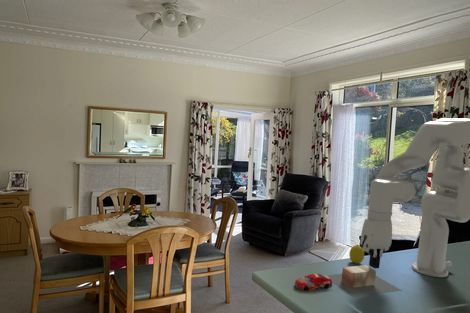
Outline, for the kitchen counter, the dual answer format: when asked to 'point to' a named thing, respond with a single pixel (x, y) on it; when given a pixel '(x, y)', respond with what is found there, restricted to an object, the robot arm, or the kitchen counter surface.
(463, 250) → the kitchen counter surface
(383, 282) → the rubber mat
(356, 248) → the lemon
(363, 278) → the wooden block
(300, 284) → the race car
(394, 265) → the kitchen counter surface
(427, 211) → the robot arm
